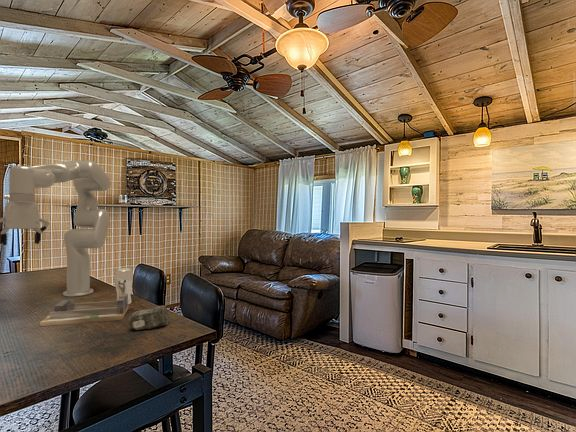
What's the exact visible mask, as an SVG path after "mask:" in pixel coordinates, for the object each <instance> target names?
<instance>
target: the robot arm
mask: <svg viewBox="0 0 576 432" xmlns="http://www.w3.org/2000/svg"><path fill="white" fill-rule="evenodd" d="M8 172H9V173H8V174H9V175H8V177H9V178H8V182H9V183H8V194H5V195H3V199H5V200H7V202H5V207H4V212H3V217H1V218H0V223H3V228H0V243H1V244H2V245H3V246H7V245H8V235H7V233H8V231H9V230H27V229H28V230H31V229H32V230H33V231H35V233H34V244H36V245H39V244H40V242H41V240H42V237H41V236H42V234H43V232H45V230H47V228H48V227H49V225H50V221H47V220H45V219H43V218H41V217H40V212H39V206H38V202H35V197H36V196H35V193H36V192H35V191H36V190H35V189H36V188H37V189H38V188H39V189H40V188H41V189H44V188H45V189H46V188H51V187H52V186H54V184H59V183H60V184H61V183H65V182H69V181H73V187H74V189H75V192H76V193H77V197H78V202H77V207H76V208H75V209H76V210H75V213H74V215H73V224H74V226H75V227H78V228H72V229H69V230H67V231H66V232H65V233H64V236H63V241H64V247H65V253H66V290H65V291H63V292H62V296H63V297H82V296H86V295H90V294H92V293H94V288H92V287H91V286H90V285H91V276H90V275H91V274H90V273H91V260H90V259H91V258H90V253H89V252H88V250H87V249H100V248H102V247H103V246H104V245H105V243H106V239H107V236H108V232H109V231H108V230H109V228H110V227H109V226H110V224H111V223H110V222H111V219H110V218H111V216H110V214H109V211H107V210H106V209H104V208H98V204H99V201H98V198H97V197H96V196H95V194H94V193H93V192H104V191H107V190H109V189H110V187H111V179H110V177H109V175H108V174H107V173H106V171H105V170H104V169H103V168H102V167H101V166H100V165H99V164H98V163H97V162H95V161H93V160H68V161H62V162H58V163H49V164H43V165H34V166H32V165H31V166H27V165H26V166H24V165H13V166H11V167H9V171H8ZM40 223H42V224H43V225H42V226H41V227H40ZM39 227H40V228H39Z"/></svg>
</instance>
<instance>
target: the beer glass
mask: <svg viewBox="0 0 576 432" xmlns="http://www.w3.org/2000/svg"><path fill="white" fill-rule="evenodd" d="M114 273H115V275H114V286H115V291H116V301H118V299H119V298H120V297H121V295H122V294H128V304H129V305H130V304H132V297H131V294H132V293H131V292H132V286H133V279H134V278H133V276H134V275H133V268H131V267H126V268H117V269H115V271H114Z"/></svg>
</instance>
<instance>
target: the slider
mask: <svg viewBox="0 0 576 432" xmlns="http://www.w3.org/2000/svg"><path fill="white" fill-rule="evenodd" d="M74 303H75V299H65V300H64V299H63V300H61V301H59V302H57V304H55V305H54V309H53V312H57V311H71V310H74Z"/></svg>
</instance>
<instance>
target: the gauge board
mask: <svg viewBox="0 0 576 432" xmlns="http://www.w3.org/2000/svg"><path fill="white" fill-rule="evenodd" d="M129 305H130V304H128V294H122V295H121V297H120V298H119V299H118V301H117V300H104V301H92V302H91V301H90V302H77V303H75V302H74V310H71V311H57V312H54V311H50V312H49V315H47V316H46V317H45V318H43V320H41V321H40V322H39V324H40V325H39V327H48V326H49V327H51V326H61V325H62V326H63V325H75V324H76V325H77V324H87V323H98V322H99V323H100V322H107V321H108V322H110V321H120V320H121V321H122V320H123V318H124V317H125V315H126V313H127V311H128V310H129V308H130V306H129Z"/></svg>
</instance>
